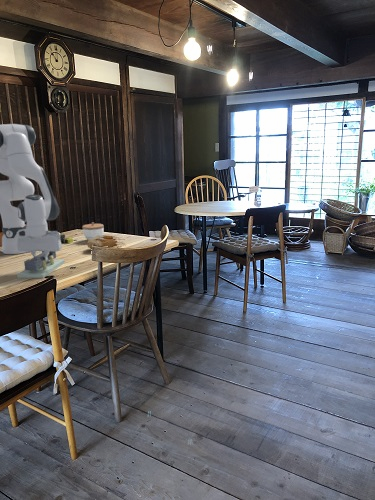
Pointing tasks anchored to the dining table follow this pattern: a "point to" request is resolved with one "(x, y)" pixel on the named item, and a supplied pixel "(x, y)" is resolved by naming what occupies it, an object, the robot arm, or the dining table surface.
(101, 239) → the nautilus
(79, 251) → the dining table surface
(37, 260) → the grey long bar
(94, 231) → the lidded bowl
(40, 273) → the rack
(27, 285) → the dining table surface
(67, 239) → the stun gun
